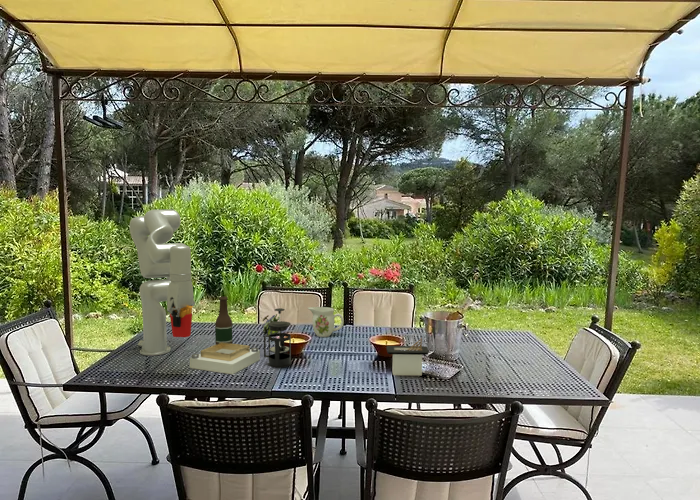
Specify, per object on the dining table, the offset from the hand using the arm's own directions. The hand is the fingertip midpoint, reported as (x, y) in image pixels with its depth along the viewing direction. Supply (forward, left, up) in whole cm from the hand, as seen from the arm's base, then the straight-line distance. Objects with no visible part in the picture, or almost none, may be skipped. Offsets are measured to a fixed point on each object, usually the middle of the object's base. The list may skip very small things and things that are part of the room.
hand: (181, 324), depth 200 cm
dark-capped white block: (+80, +34, -20) cm, 89 cm away
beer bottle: (-4, +32, -19) cm, 38 cm away
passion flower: (+1, +67, -19) cm, 70 cm away
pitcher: (+27, +73, -19) cm, 81 cm away
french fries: (0, 0, -5) cm, 5 cm away
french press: (+28, +24, -19) cm, 42 cm away
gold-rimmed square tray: (+8, +16, -19) cm, 26 cm away
